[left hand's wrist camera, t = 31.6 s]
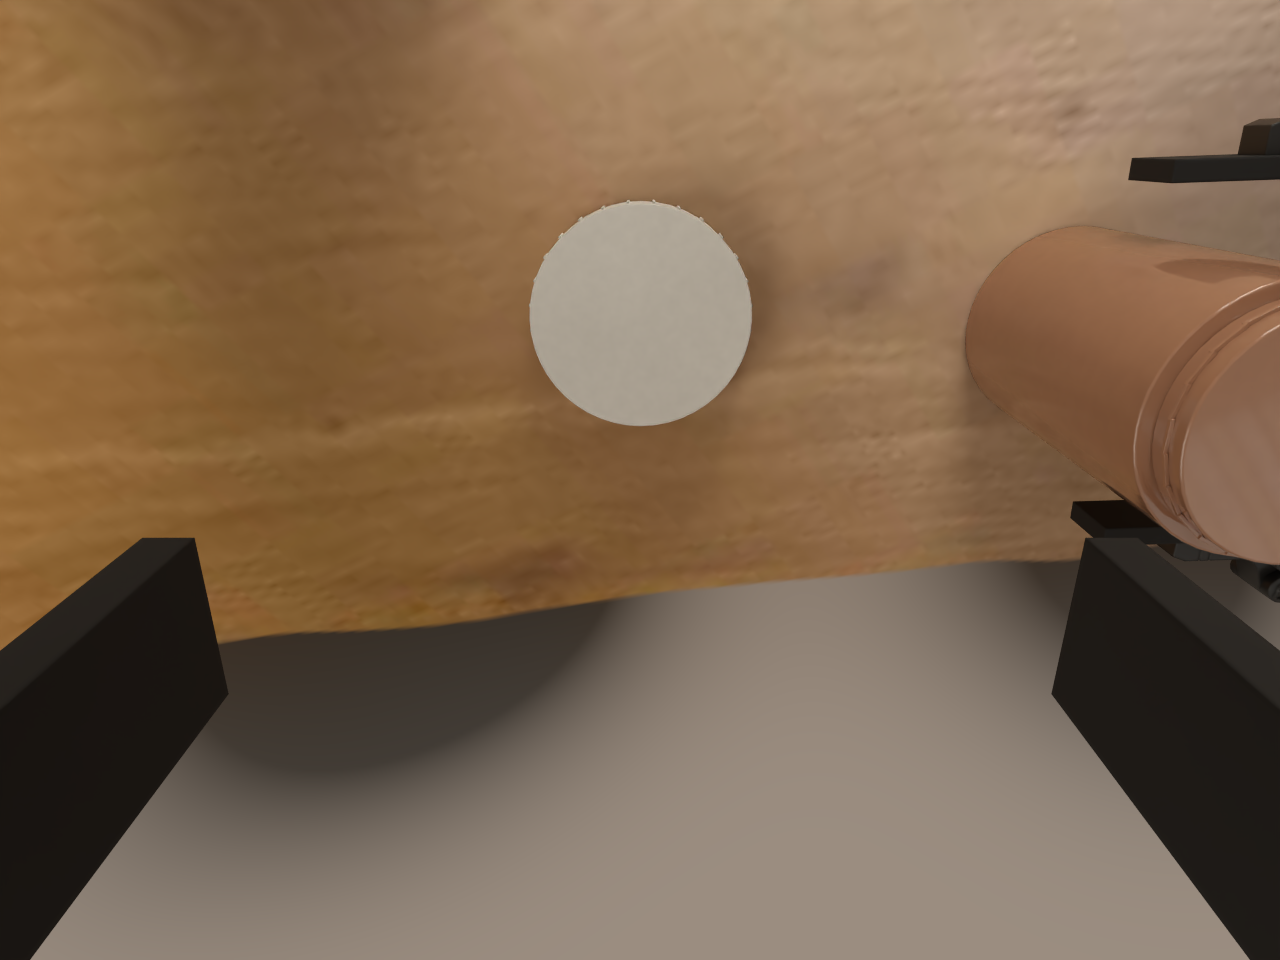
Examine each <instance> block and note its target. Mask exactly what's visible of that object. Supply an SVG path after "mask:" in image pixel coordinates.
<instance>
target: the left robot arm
mask: <svg viewBox="0 0 1280 960" xmlns="http://www.w3.org/2000/svg"><path fill="white" fill-rule="evenodd" d="M227 695H228V690H227V685H226V680H225V676H224V671H223V667H222V662H221V657H220V653H219V648H218V644H217V639H216V634H215V630H214V625H213V621H212V616H211V612H210V607H209V602H208V598H207V593H206V589H205V584H204V579H203V575H202V570H201V566H200V561H199V557H198V552H197V547H196V543H195V538H142V539H140V540H139V541H138V542H137V543H135V544H134V545H133V546H132V547H130V548H129V549H128V550H127V551H125V552H124V553H123V554H122V555H120V556H119V557H118V558H116V559H115V560H114V561H113V562H111V563H110V564H109V565H108V566H106V567H105V568H104V569H103V570H101V571H100V572H99V573H98V574H96V575H95V576H94V577H93V578H91V579H90V580H89V581H88V582H86V583H85V584H84V585H82V586H81V587H80V588H79V589H77V590H76V591H75V592H74V593H72V594H71V595H70V596H69V597H67V598H66V599H65V600H64V601H62V602H61V603H60V604H59V605H57V606H56V607H55V608H54V609H52V610H51V611H50V612H48V613H47V614H46V615H45V616H43V617H42V618H41V619H40V620H38V621H37V622H36V623H35V624H33V625H32V626H31V627H30V628H28V629H27V630H26V631H25V632H23V633H22V634H21V635H20V636H18V637H17V638H16V639H14V640H13V641H12V642H11V643H9V644H8V645H7V646H6V647H4V648H3V649H2V650H1V651H0V960H30V959H31V958H32V956H33V955H34V954H35V952H36V951H37V950H38V948H39V947H40V946H41V944H42V943H43V942H44V940H45V939H46V938H47V936H48V935H49V934H50V932H51V931H52V930H53V928H54V927H55V926H56V924H57V923H58V922H59V920H60V919H61V918H62V916H63V915H64V914H65V912H66V911H67V909H68V908H69V907H70V906H71V904H72V903H73V901H74V900H75V899H76V897H77V896H78V895H79V893H80V892H81V891H82V889H83V888H84V887H85V885H86V884H87V883H88V881H89V880H90V879H91V877H92V876H93V875H94V873H95V872H96V871H97V869H98V868H99V867H100V865H101V864H102V863H103V861H104V860H105V859H106V857H107V856H108V855H109V853H110V852H111V851H112V849H113V848H114V847H115V845H116V844H117V843H118V841H119V840H120V839H121V837H122V836H123V834H124V833H125V832H126V831H127V829H128V828H129V827H130V825H131V824H132V822H133V821H134V820H135V818H136V817H137V816H138V814H139V813H140V812H141V810H142V809H143V808H144V806H145V805H146V804H147V802H148V801H149V800H150V798H151V797H152V796H153V794H154V793H155V792H156V790H157V789H158V788H159V786H160V785H161V784H162V782H163V781H164V780H165V778H166V777H167V776H168V774H169V773H170V772H171V770H172V769H173V768H174V766H175V765H176V764H177V762H178V761H179V760H180V758H181V757H182V756H183V754H184V753H185V751H186V750H187V749H188V747H189V746H190V745H191V743H192V742H193V741H194V739H195V738H196V737H197V735H198V734H199V733H200V731H201V730H202V729H203V727H204V726H205V725H206V723H207V722H208V721H209V719H210V718H211V717H212V715H213V714H214V713H215V711H216V710H217V709H218V707H219V706H220V705H221V703H222V702H223V701H224V699H225V698H226V697H227ZM1052 695H1053V697H1054V698H1055V699H1056V701H1057V702H1058V703H1059V705H1060V706H1061V707H1062V709H1063V710H1064V711H1065V713H1066V714H1067V715H1068V717H1069V718H1070V719H1071V721H1072V722H1073V723H1074V725H1075V726H1076V727H1077V729H1078V730H1079V731H1080V733H1081V734H1082V735H1083V737H1084V738H1085V739H1086V741H1087V742H1088V743H1089V745H1090V746H1091V747H1092V749H1093V750H1094V752H1095V753H1096V754H1097V756H1098V757H1099V758H1100V759H1101V761H1102V762H1103V764H1104V765H1105V766H1106V768H1107V769H1108V770H1109V772H1110V773H1111V774H1112V776H1113V777H1114V778H1115V780H1116V781H1117V782H1118V784H1119V785H1120V786H1121V788H1122V789H1123V790H1124V792H1125V793H1126V794H1127V796H1128V797H1129V798H1130V800H1131V801H1132V802H1133V804H1134V805H1135V806H1136V808H1137V809H1138V810H1139V812H1140V813H1141V814H1142V816H1143V817H1144V818H1145V820H1146V821H1147V822H1148V824H1149V825H1150V827H1151V828H1152V829H1153V831H1154V832H1155V833H1156V834H1157V836H1158V837H1159V839H1160V840H1161V841H1162V843H1163V844H1164V845H1165V847H1166V848H1167V849H1168V851H1169V852H1170V853H1171V855H1172V856H1173V857H1174V859H1175V860H1176V861H1177V863H1178V864H1179V865H1180V867H1181V868H1182V869H1183V871H1184V872H1185V873H1186V875H1187V876H1188V877H1189V879H1190V880H1191V881H1192V883H1193V884H1194V885H1195V887H1196V888H1197V889H1198V891H1199V892H1200V893H1201V895H1202V896H1203V897H1204V899H1205V900H1206V901H1207V903H1208V904H1209V906H1210V907H1211V908H1212V910H1213V911H1214V912H1215V914H1216V915H1217V916H1218V918H1219V919H1220V920H1221V922H1222V923H1223V924H1224V926H1225V927H1226V928H1227V930H1228V931H1229V932H1230V934H1231V935H1232V936H1233V938H1234V939H1235V940H1236V942H1237V943H1238V944H1239V946H1240V947H1241V948H1242V950H1243V951H1244V952H1245V954H1246V955H1247V956H1248V958H1249V959H1250V960H1280V651H1279V650H1278V649H1277V648H1276V647H1274V646H1273V645H1272V644H1271V643H1269V642H1268V641H1267V640H1266V639H1264V638H1263V637H1262V636H1260V635H1259V634H1258V633H1257V632H1255V631H1254V630H1253V629H1252V628H1250V627H1249V626H1248V625H1247V624H1245V623H1244V622H1243V621H1242V620H1240V619H1239V618H1238V617H1237V616H1235V615H1234V614H1233V613H1231V612H1230V611H1229V610H1228V609H1226V608H1225V607H1224V606H1223V605H1221V604H1220V603H1219V602H1218V601H1216V600H1215V599H1214V598H1213V597H1211V596H1210V595H1209V594H1208V593H1206V592H1205V591H1204V590H1203V589H1201V588H1200V587H1199V586H1198V585H1196V584H1195V583H1194V582H1192V581H1191V580H1190V579H1189V578H1187V577H1186V576H1185V575H1184V574H1182V573H1181V572H1180V571H1179V570H1177V569H1176V568H1175V567H1174V566H1172V565H1171V564H1170V563H1169V562H1167V561H1166V560H1165V559H1164V558H1162V557H1161V556H1160V555H1158V554H1157V553H1156V552H1155V551H1153V550H1152V549H1151V548H1150V547H1148V546H1147V545H1146V544H1145V543H1143V542H1142V541H1141V540H1140V539H1138V538H1085V543H1084V547H1083V552H1082V557H1081V561H1080V566H1079V570H1078V575H1077V579H1076V584H1075V589H1074V593H1073V598H1072V602H1071V607H1070V612H1069V616H1068V621H1067V625H1066V630H1065V635H1064V639H1063V644H1062V648H1061V653H1060V657H1059V662H1058V667H1057V671H1056V676H1055V680H1054V685H1053V690H1052Z"/></svg>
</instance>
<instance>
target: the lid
mask: <svg viewBox="0 0 1280 960" xmlns="http://www.w3.org/2000/svg"><path fill="white" fill-rule="evenodd" d="M703 221H704V220H703V218H701V217H700V218H698V217H696V216H694V215H692V214H691V213H689V212H687V211H685V210H683V209H681V208H680V206H678V205H677V207H674V206H671V205H668V204H663V203H658V202H655V200H652V202H650V201H632V202H630V200H627V202H623V203H619V204H614V205H610V206H607V207H605V205H604V206H602V207H601V209H599V210H597V211H595V212H593V213H591V214H589V215H587V216H585V217H584V218H582V217H580V218H579V219H578V222H577V223H575V224H574V225H573V226H572V227H571V228H570V229H569V230H567V231H566V232H565V233H564V234H563V233H561V235H560V236H559V237H558V238H559V240H558V241H557V242H556V244H555V245H554V246H553V247H552V249H551V250H550V251H549V253H546V255H545V256H544V257H543V258H544V261H543V263H542V265H541V267H540V269H539V272H538V274H537V276H536V278H535V279H534V281H533V282H535V283H534V286H533V290H532V295H531V302H530V304H529V307H530V327H531V329H530V332H531V335H532V339H533V343H534V347H535V350H536V353H537V356H538V358H539V361H540V363H541V365H542V366H543V368H544V370H545V372H546V374H547V375H548V377H549V378H550V379H551V381H552V382H553V384H554V385H555V386H556V387H557V388H558V389H559V390H560V391H561V393H562V394H563V395H564V396H565V397H567V398H568V399H569V400H570V401H571V402H573V403H574V404H575V405H576V406H578V407H580V408H581V409H583V410H584V411H586V412H588V413H590V414H592V415H594V416H596V417H598V418H601V419H604V420H607V421H610V422H613V423H618V424H623V425H632V426H649V425H658V424H663V423H669V422H672V421H675V420H678V419H681V418H683V417H685V416H688V415H690V414H692V413H694V412H696V411H697V410H699V409H700V408H702V407H704V406H705V405H706V404H708V403H709V402H710V401H711V400H713V399H714V398H715V397H716V396H717V395H718V394H719V393H720V392H721V391H722V390H723V389H724V388H725V387H726V386H727V384H728V383H729V382H730V380H731V379H732V377H733V376H734V375H735V373H736V371H737V369H738V368H739V366H740V364H741V362H742V360H743V357H744V355H745V352H746V349H747V346H748V342H749V338H750V333H751V324H752V307H753V305H752V303H751V297H750V291H749V287H748V284H747V282H748V279H747V278H746V277H745V275H744V272H743V270H742V268H741V266H740V263H739V262H738V260H737V259H739V258H738V256H737V255H736V254H735V253H733V252H732V250H731V249H730V248H729V247H728V245H727V244H726V243H725V242H724V240H723V238H724V237H723V236H722V235H721V234H720V233H719V234H717V233H716V232H715V231H714V230H713V229H712V228H711V227H710V226H709V225H708V224H706V223H705V222H703Z"/></svg>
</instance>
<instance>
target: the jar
mask: <svg viewBox="0 0 1280 960" xmlns="http://www.w3.org/2000/svg"><path fill="white" fill-rule="evenodd" d="M966 355H967V360H968V364H969V368H970V370H971V373H972V376H973V378H974V380H975V382H976V383H977V385H978V387H979V388H980V390H981V391H982V392H983V393H984V395H985V396H986V397H987V398H988V399H989V400H990V401H991V402H993V403H994V404H995V405H996V406H997V407H999V408H1000V409H1001V410H1003V411H1004V412H1006V413H1007V414H1008V415H1010V416H1011V417H1012V418H1014V419H1015V420H1016V421H1018V422H1019V423H1020V424H1022V425H1023V426H1025V427H1026V428H1027V429H1029V430H1030V431H1031V432H1033V433H1034V434H1035V435H1037V436H1038V437H1039V438H1041V439H1042V440H1044V441H1045V442H1046V443H1048V444H1049V445H1050V446H1052V447H1053V448H1054V449H1056V450H1057V451H1058V452H1060V453H1061V454H1063V455H1064V456H1065V457H1067V458H1068V459H1069V460H1071V461H1072V462H1073V463H1075V464H1076V465H1077V466H1079V467H1080V468H1082V469H1083V470H1084V471H1086V472H1087V473H1088V474H1090V475H1091V476H1092V477H1094V478H1095V479H1096V480H1098V481H1099V482H1101V483H1102V484H1103V485H1105V486H1106V487H1107V488H1109V489H1110V490H1111V491H1113V492H1114V493H1115V494H1117V495H1118V496H1120V497H1121V498H1122V499H1124V500H1125V501H1126V502H1128V503H1129V504H1130V505H1132V506H1133V507H1134V508H1136V509H1137V510H1139V511H1140V512H1141V513H1143V514H1144V515H1145V516H1147V517H1148V518H1149V519H1151V520H1152V521H1153V522H1155V523H1156V524H1158V525H1159V526H1160V527H1162V528H1163V529H1164V530H1166V531H1167V532H1168V533H1170V534H1171V535H1173V536H1174V537H1176V538H1177V539H1179V540H1180V541H1182V542H1184V543H1186V544H1188V545H1190V546H1193V547H1195V548H1197V549H1200V550H1204V551H1207V552H1210V553H1214V554H1220V555H1227V556H1233V557H1238V558H1243V559H1246V560H1249V561H1252V562H1258V563H1265V564H1274V565H1280V261H1279V260H1274V259H1268V258H1263V257H1257V256H1252V255H1246V254H1241V253H1236V252H1230V251H1225V250H1219V249H1214V248H1208V247H1203V246H1197V245H1192V244H1187V243H1181V242H1176V241H1170V240H1165V239H1159V238H1154V237H1148V236H1143V235H1138V234H1132V233H1127V232H1121V231H1116V230H1110V229H1105V228H1099V227H1093V226H1076V227H1067V228H1062V229H1058V230H1054V231H1051V232H1048V233H1045V234H1043V235H1040V236H1038V237H1036V238H1034V239H1032V240H1030V241H1028V242H1026V243H1025V244H1023V245H1022V246H1020V247H1019V248H1017V249H1016V250H1014V251H1013V252H1012V253H1011V254H1010V255H1008V256H1007V257H1006V258H1005V259H1004V260H1003V261H1002V262H1001V263H1000V264H999V265H998V266H997V267H996V268H995V269H994V270H993V271H992V273H991V274H990V275H989V277H988V278H987V279H986V281H985V282H984V284H983V286H982V287H981V289H980V291H979V292H978V294H977V296H976V299H975V301H974V303H973V305H972V309H971V312H970V315H969V318H968V324H967V329H966Z"/></svg>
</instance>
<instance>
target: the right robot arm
mask: <svg viewBox="0 0 1280 960" xmlns="http://www.w3.org/2000/svg"><path fill="white" fill-rule="evenodd" d="M1275 179H1280V118H1275V119H1259V120H1256V121H1254V122H1252V123H1249V124H1247V125H1245V126H1244V128H1243V133H1242V137H1241V142H1240V147H1239V151H1238V154H1232V155H1204V156H1176V157H1148V158H1132V161H1131V167H1130V173H1129V179H1128V180H1136V181H1149V182H1163V183H1190V182H1218V181H1247V180H1275ZM1070 518H1071V519H1072V520H1073V521H1075V522H1076V523H1077V524H1078V525H1079V526H1080V527H1082V528H1083V529H1084V530H1085V531H1086V532H1087V533H1088V534H1090V535H1091V536H1092V537H1093V538H1138V539H1140V540H1141V541H1142V542H1143V543H1145V544H1146V545H1147V544H1157V545H1158V546H1160V547H1161V548H1162V549H1164V550H1165V551H1166V552H1168V553H1169V554H1170V555H1171V556H1173V557H1175V558H1177V559H1180V560H1183V561H1198V560H1200V561H1205V560H1232V561H1231V563H1230V568H1231V570H1232V572H1233V573H1235V574H1236V575H1237V576H1239V577H1240V578H1241V579H1243V580H1244V581H1246V582H1247V583H1248V584H1250V585H1251V586H1253V587H1254V588H1255V589H1257V590H1258V591H1260V592H1261V593H1262V594H1264V595H1265V596H1267V597H1268V598H1269V599H1271V600H1272V601H1274V602H1280V565H1274V564H1265V563H1258V562H1252V561H1249V560H1246V559H1243V558H1238V557H1233V556H1227V555H1220V554H1214V553H1210V552H1207V551H1204V550H1200V549H1197V548H1195V547H1193V546H1190V545H1188V544H1186V543H1184V542H1182V541H1180V540H1179V539H1177V538H1176V537H1174V536H1173V535H1171V534H1170V533H1168V532H1167V531H1166V530H1164V529H1163V528H1162V527H1160V526H1159V525H1158V524H1156V523H1155V522H1153V521H1152V520H1151V519H1149V518H1148V517H1147V516H1145V515H1144V514H1143V513H1141V512H1140V511H1139V510H1137V509H1136V508H1134V507H1133V506H1132V505H1130V504H1129V503H1128V502H1126V501H1125V500H1110V501H1078V502H1073V505H1072V511H1071V517H1070Z"/></svg>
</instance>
